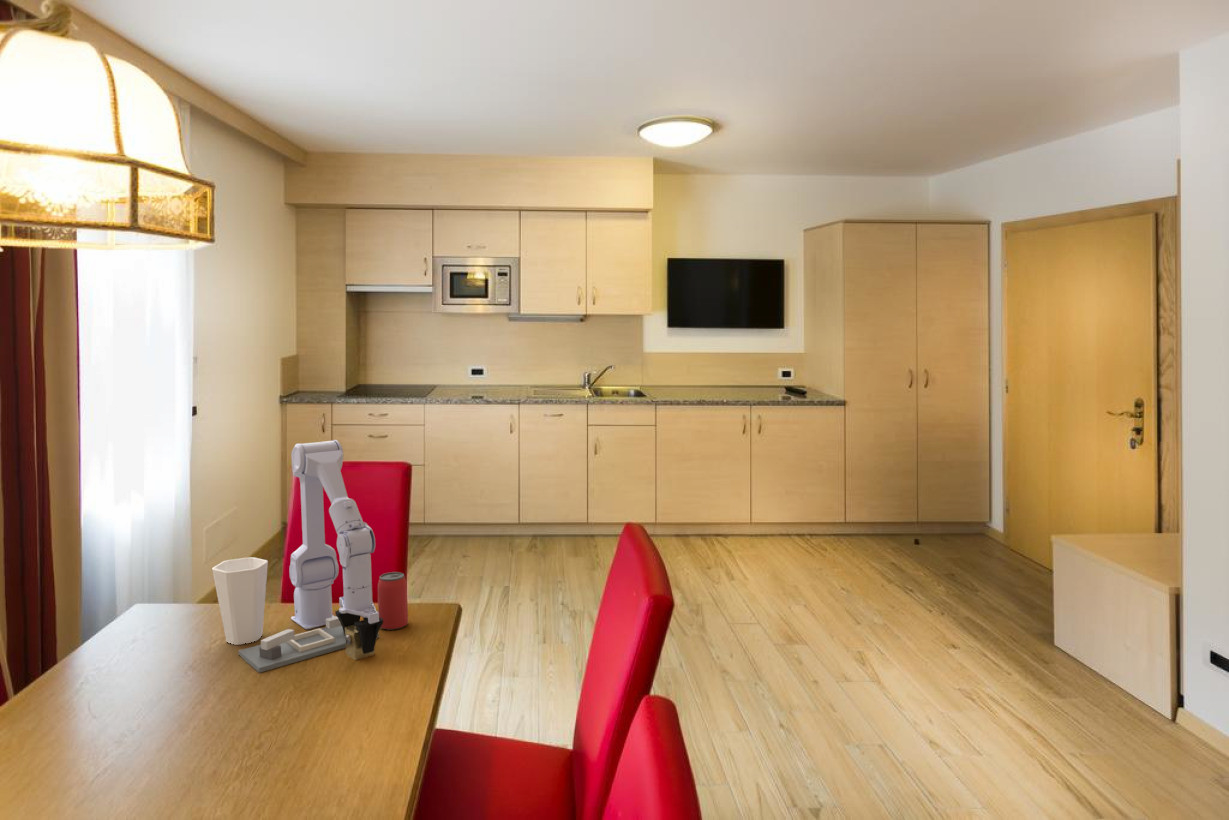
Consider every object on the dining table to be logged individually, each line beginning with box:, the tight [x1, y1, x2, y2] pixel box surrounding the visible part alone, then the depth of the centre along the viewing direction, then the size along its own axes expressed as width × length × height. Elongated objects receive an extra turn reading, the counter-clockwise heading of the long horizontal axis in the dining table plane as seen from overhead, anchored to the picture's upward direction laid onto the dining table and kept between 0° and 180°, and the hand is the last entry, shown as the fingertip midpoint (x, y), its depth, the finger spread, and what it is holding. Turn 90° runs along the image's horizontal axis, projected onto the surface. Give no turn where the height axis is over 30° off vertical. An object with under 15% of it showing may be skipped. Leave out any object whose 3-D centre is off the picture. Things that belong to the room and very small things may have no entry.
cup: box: [211, 556, 269, 646], centre depth 178 cm, size 11×10×17 cm
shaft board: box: [238, 615, 380, 673], centre depth 175 cm, size 12×26×5 cm, turn 133°
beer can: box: [377, 571, 409, 631], centre depth 186 cm, size 7×7×12 cm
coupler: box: [345, 625, 376, 661], centre depth 170 cm, size 4×6×6 cm
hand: (360, 646), depth 170 cm, fingers open, 7 cm apart
